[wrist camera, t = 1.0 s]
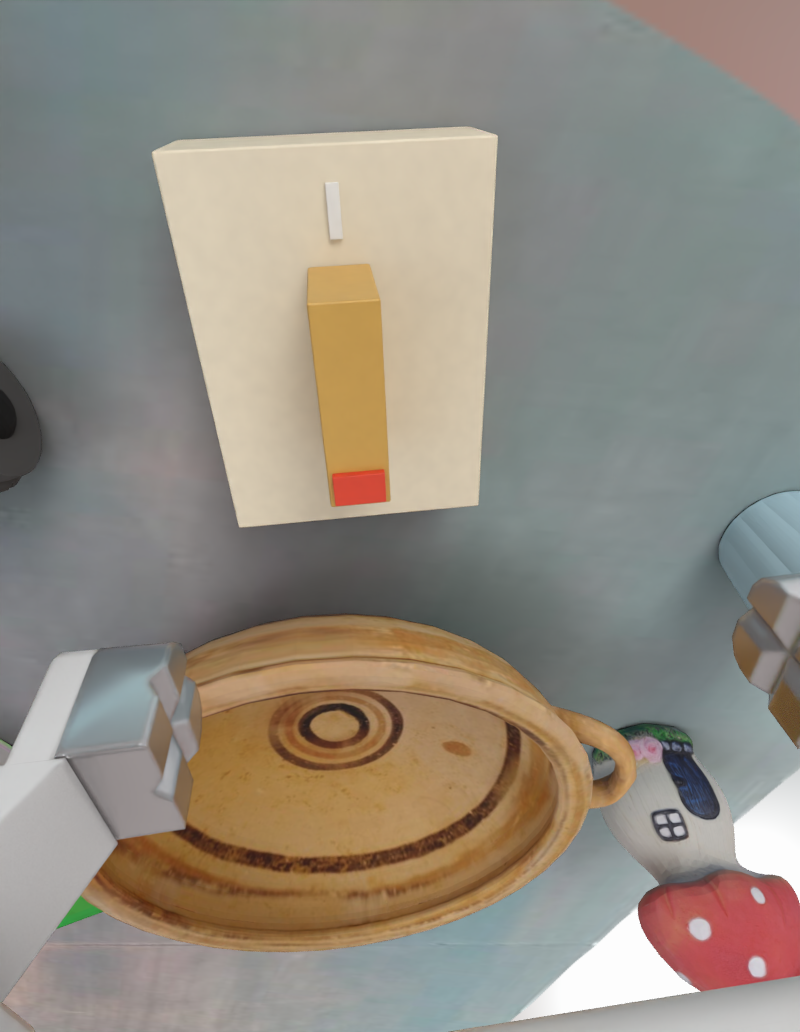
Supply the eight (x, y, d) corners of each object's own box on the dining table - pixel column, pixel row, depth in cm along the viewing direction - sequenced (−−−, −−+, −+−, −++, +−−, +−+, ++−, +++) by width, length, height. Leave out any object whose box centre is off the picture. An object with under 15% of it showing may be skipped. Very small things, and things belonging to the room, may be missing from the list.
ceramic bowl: (130, 844, 40) (95, 990, 34) (-48, 569, 26) (-165, 729, 20) (565, 783, 42) (610, 910, 36) (620, 493, 28) (712, 618, 22)
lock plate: (175, 139, 18) (148, 152, 15) (471, 126, 19) (500, 134, 16) (246, 478, 25) (238, 531, 22) (460, 459, 26) (479, 508, 23)
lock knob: (307, 267, 17) (306, 306, 14) (370, 263, 18) (381, 301, 15) (328, 450, 21) (331, 512, 18) (380, 445, 21) (391, 507, 18)
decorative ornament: (722, 737, 41) (893, 1011, 29) (659, 789, 44) (789, 1057, 32) (618, 710, 38) (761, 1006, 26) (557, 768, 41) (660, 1057, 29)
